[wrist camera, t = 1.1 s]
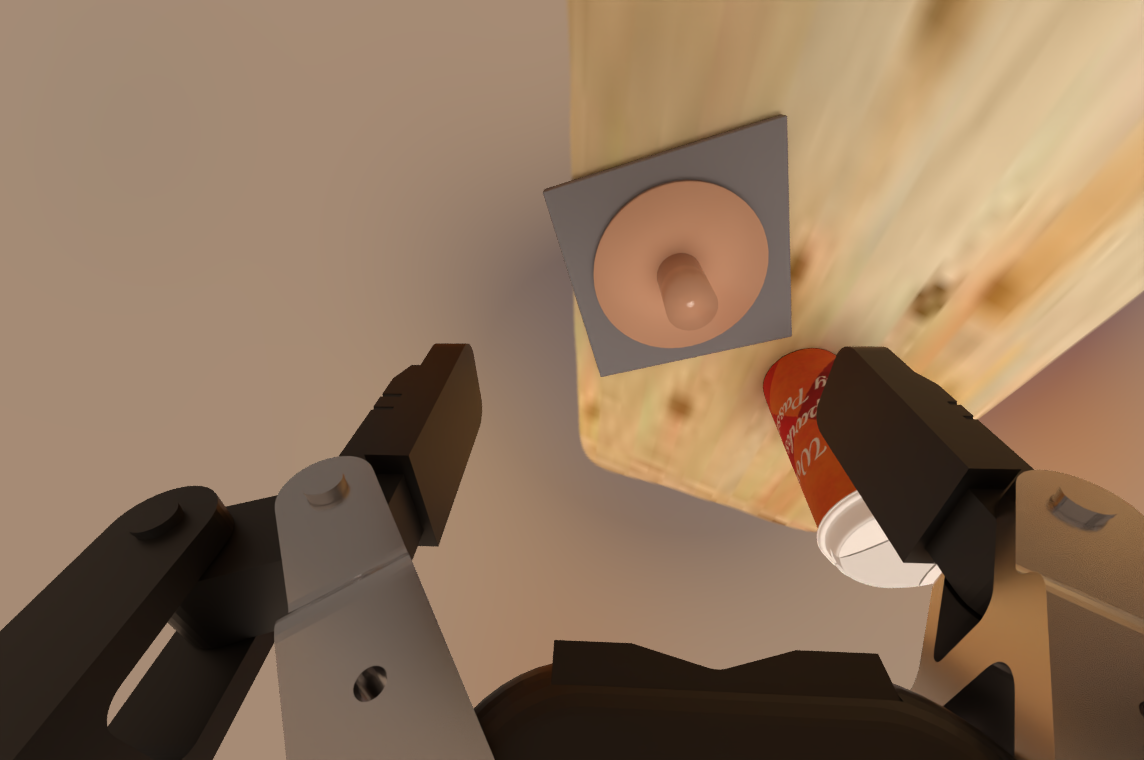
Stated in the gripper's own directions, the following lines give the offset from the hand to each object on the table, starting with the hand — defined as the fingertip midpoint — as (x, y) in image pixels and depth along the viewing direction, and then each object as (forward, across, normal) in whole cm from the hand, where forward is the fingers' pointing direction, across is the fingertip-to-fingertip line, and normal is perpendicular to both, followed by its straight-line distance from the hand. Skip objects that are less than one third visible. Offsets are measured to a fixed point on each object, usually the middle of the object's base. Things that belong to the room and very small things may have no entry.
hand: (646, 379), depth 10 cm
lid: (+20, -4, +5) cm, 21 cm away
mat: (+21, -4, +5) cm, 22 cm away
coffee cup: (+21, -15, +14) cm, 29 cm away
